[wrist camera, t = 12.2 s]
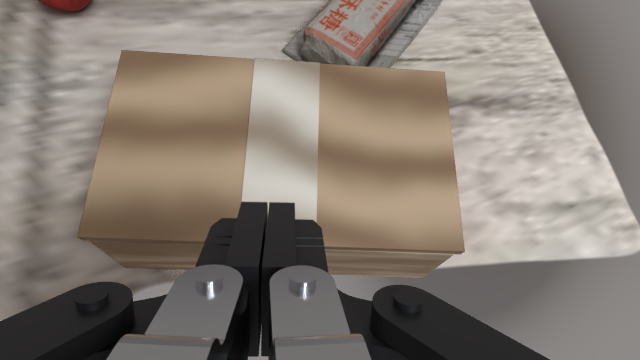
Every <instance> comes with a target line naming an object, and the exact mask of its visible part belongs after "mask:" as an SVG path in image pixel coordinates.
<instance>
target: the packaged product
mask: <svg viewBox="0 0 640 360" xmlns="http://www.w3.org/2000/svg"><path fill="white" fill-rule="evenodd" d="M441 2H442V0H330V1H329V2H328V3H327V4H326V6H325V7H324V8H323V9H322V10H321V11H320V12H319V13H318V14H317V15H316V16H315V17H314V18H313V19H312V20H311V21H310V22H309V23H308V25H307V26H306V27H304V28H303V29H302V30H301V31H300V32H299V33H298V34H297V35H296V37H295V38H294V39H293V40H292V41H291V42H290V43H289V44H288V45H287V46H286V47H285V48H284V50H283V51H284V53H285V54H286V55H288V56H289V57H291V58H292V59H294V60H296V61H303V62H318V63H320V64H335V65H350V66H365V67H379V68H390V67H391V66H392V65H393V64H394V63H395V61H396V60H397V59H398V58H399V56H400V55H401V54H402V53H403V52H404V50H405V49H406V48H407V47H408V46H409V45H410V43H411V42H412V41H413V40H414V38H415V37H416V36H417V35H418V33H419V32H420V31H421V29H422V28H423V27H424V26H425V24H426V23H427V22H428V20H429V19H430V18H431V16H432V15H433V14H434V12H435V11H436V10H437V9H438V7H439V6H440V4H441Z"/></svg>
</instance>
